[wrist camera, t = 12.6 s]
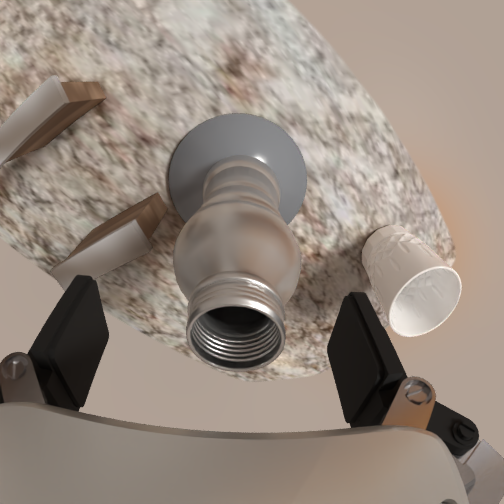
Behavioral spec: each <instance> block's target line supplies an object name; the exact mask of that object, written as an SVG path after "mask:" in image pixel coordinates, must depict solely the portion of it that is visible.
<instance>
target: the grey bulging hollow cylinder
mask: <svg viewBox="0 0 504 504" xmlns="http://www.w3.org/2000/svg"><path fill="white" fill-rule="evenodd" d="M279 203H280V185H279V181H278V179H277V177H276V175H275V173H274V172H273V171H272V170H271V168H270V167H269V166H267V165H266V164H265V163H264V162H262V161H260V160H259V159H257V158H254V157H251V156H247V155H234V156H230V157H227V158H225V159H222V160H220V161H219V162H217V163H216V164H215V165H214V166H213V167H212V168H211V169H210V170H209V172H208V173H207V175H206V177H205V180H204V183H203V204H202V206H201V208H200V209H199V210H198V211H197V212H196V213H195V214H194V215H193V216H192V217H191V218H190V219H189V220H188V222H187V223H186V224H185V225H184V227H183V229H182V230H181V232H180V234H179V236H178V237H177V239H176V242H175V246H174V250H173V264H174V271H175V276H176V280H177V283H178V285H179V287H180V289H181V291H182V293H183V294H184V295H185V297H186V298H187V300H188V301H189V303H188V321H187V326H186V335H187V341H188V345H189V346H190V348H191V350H192V351H193V353H194V354H195V355H196V356H197V357H198V358H199V359H201V360H202V361H203V362H205V363H207V364H209V365H210V366H213V367H216V368H218V369H222V370H226V371H234V372H244V371H251V370H256V369H259V368H262V367H264V366H266V365H268V364H270V363H271V362H273V361H274V360H275V359H276V358H277V357H278V356H279V355H280V354H281V352H282V350H283V348H284V345H285V327H284V319H285V311H284V305H285V304H286V303H287V302H288V301H289V299H290V298H291V297H292V295H293V293H294V291H295V289H296V287H297V283H298V280H299V276H300V272H301V254H300V250H299V246H298V244H297V242H296V240H295V237H294V235H293V233H292V231H291V229H290V228H289V227H288V225H287V224H286V222H285V221H284V220H283V218H282V217H281V215H280V213H279V210H278V208H279Z"/></svg>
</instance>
